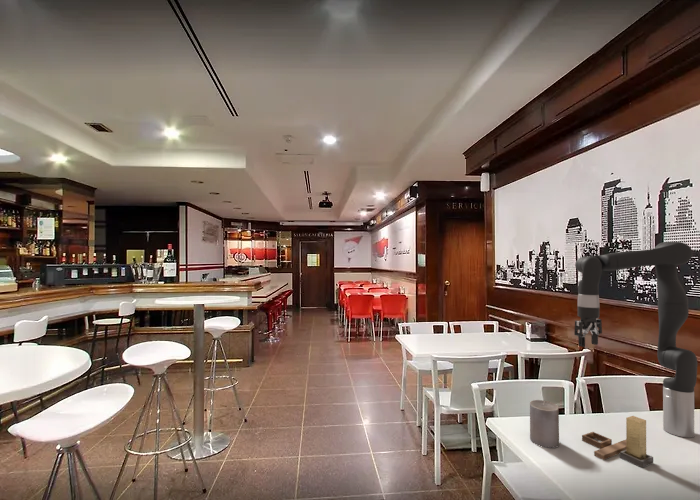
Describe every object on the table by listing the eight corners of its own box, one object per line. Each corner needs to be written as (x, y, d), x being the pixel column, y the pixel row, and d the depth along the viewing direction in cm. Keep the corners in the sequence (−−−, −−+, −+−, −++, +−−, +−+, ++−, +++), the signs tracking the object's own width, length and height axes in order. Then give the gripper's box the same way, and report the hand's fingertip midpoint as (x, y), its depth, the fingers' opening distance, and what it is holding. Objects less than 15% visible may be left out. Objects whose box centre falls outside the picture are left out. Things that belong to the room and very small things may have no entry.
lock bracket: (603, 433, 145) (603, 428, 145) (663, 458, 127) (663, 452, 127) (570, 444, 136) (570, 439, 136) (630, 473, 118) (630, 466, 118)
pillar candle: (537, 432, 145) (537, 394, 145) (564, 443, 137) (563, 402, 137) (524, 440, 139) (524, 400, 139) (551, 451, 131) (551, 409, 131)
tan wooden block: (633, 456, 128) (632, 415, 129) (646, 461, 125) (646, 420, 125) (626, 458, 127) (626, 417, 127) (639, 464, 123) (639, 422, 123)
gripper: (586, 307, 144) (586, 349, 144) (608, 305, 150) (608, 345, 150) (568, 305, 151) (568, 345, 151) (589, 303, 157) (589, 341, 157)
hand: (588, 345), depth 150 cm, fingers open, 8 cm apart
